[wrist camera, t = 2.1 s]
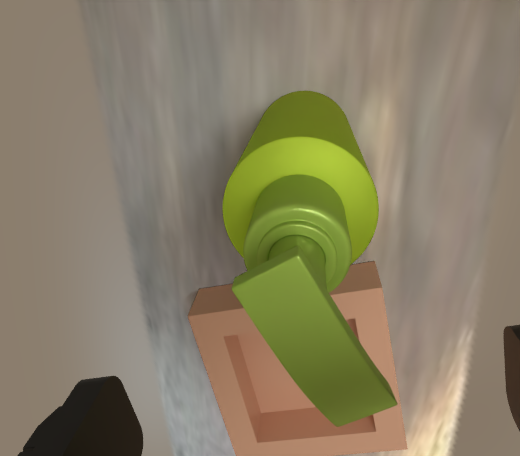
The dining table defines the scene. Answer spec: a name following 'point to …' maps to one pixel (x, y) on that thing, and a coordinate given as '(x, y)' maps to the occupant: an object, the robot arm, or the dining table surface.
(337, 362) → the green pump bottle
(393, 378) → the tray
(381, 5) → the dining table surface
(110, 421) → the robot arm
